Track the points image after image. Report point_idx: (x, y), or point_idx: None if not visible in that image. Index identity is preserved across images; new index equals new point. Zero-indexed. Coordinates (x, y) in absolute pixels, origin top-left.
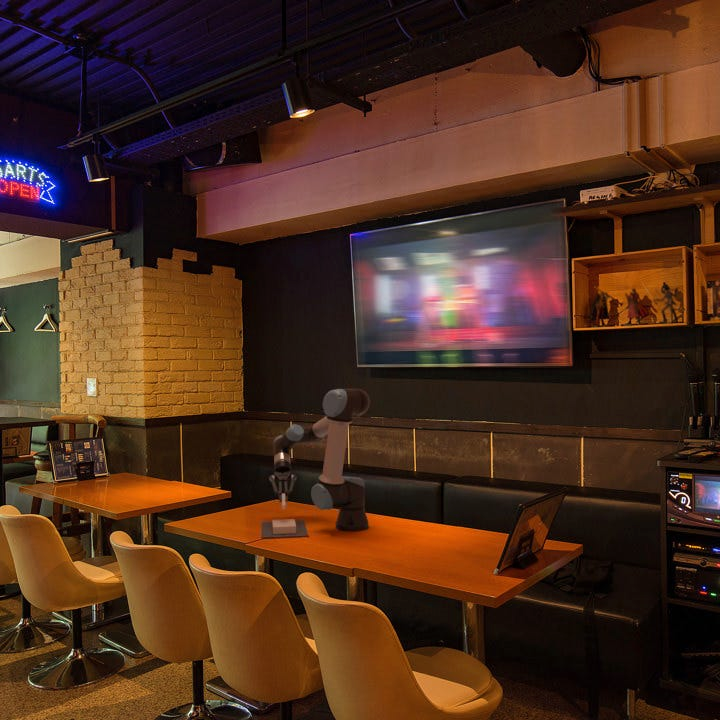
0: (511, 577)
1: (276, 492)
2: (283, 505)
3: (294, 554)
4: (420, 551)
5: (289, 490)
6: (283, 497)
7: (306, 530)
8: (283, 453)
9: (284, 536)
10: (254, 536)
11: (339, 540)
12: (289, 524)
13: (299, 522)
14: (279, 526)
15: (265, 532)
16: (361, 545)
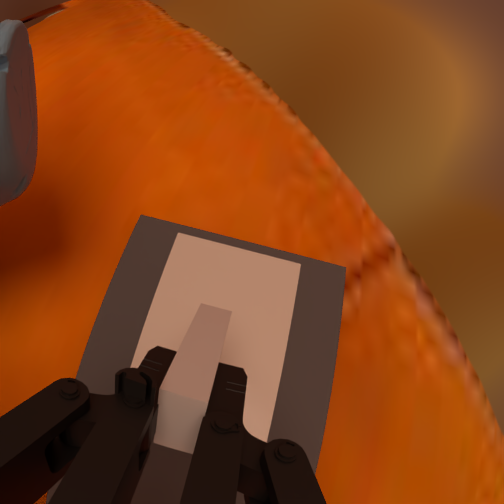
0: (63, 5)
1: (285, 439)
2: (219, 309)
3: (262, 94)
4: None
5: (75, 399)
6: (199, 356)
7: (107, 294)
8: None
9: (243, 242)
10: (363, 345)
11: (75, 152)
12: (195, 287)
13: None
14: (263, 265)
15: (317, 345)
16: (70, 101)
